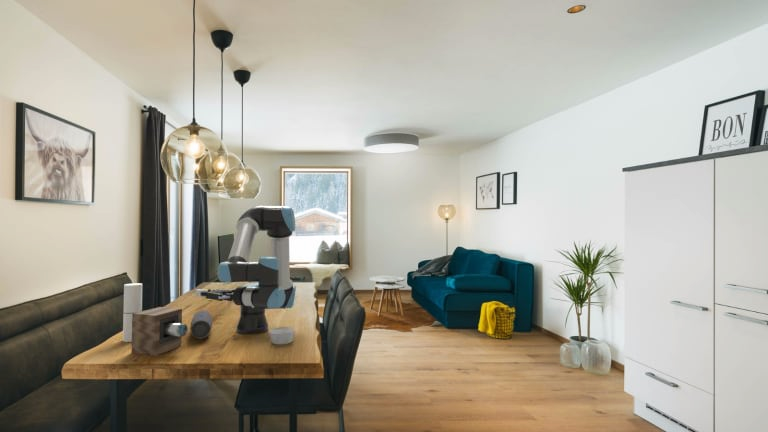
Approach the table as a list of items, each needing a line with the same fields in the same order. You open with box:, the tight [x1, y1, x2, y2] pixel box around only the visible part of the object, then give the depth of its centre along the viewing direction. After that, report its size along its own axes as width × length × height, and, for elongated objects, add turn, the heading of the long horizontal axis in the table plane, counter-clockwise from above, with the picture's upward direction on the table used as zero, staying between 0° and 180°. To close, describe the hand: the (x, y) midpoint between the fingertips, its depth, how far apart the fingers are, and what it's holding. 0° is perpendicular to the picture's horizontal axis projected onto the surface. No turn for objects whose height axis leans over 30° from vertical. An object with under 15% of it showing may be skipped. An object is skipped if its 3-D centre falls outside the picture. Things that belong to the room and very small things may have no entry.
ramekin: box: [268, 326, 296, 345], centre depth 187 cm, size 11×11×5 cm
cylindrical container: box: [122, 282, 143, 343], centre depth 188 cm, size 7×7×25 cm
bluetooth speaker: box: [190, 309, 213, 339], centre depth 196 cm, size 23×9×10 cm, turn 22°
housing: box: [131, 306, 183, 357], centre depth 174 cm, size 12×14×16 cm
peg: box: [164, 323, 188, 337], centre depth 172 cm, size 12×5×5 cm, turn 74°
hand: (196, 292), depth 169 cm, fingers closed
